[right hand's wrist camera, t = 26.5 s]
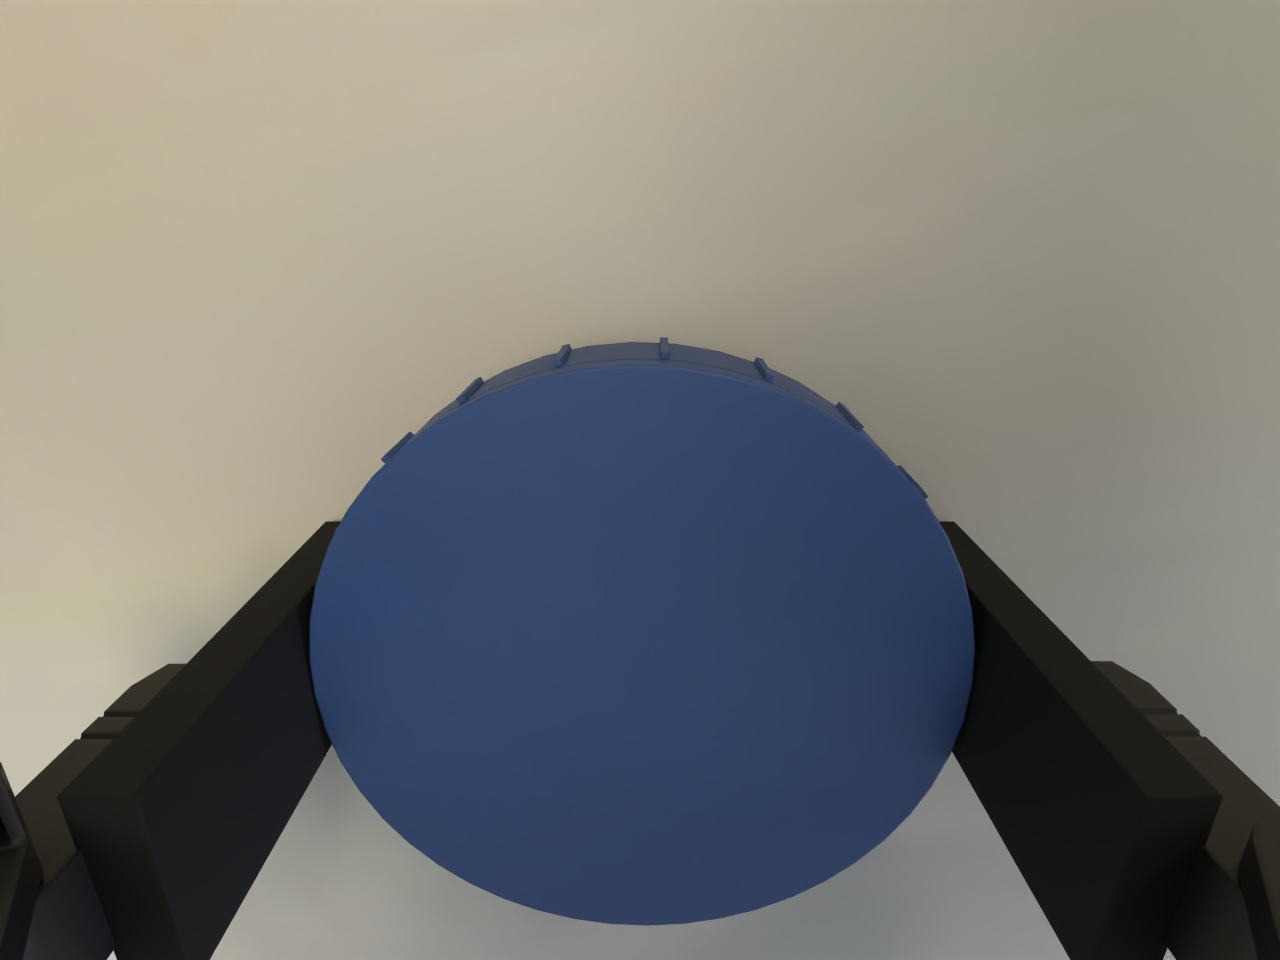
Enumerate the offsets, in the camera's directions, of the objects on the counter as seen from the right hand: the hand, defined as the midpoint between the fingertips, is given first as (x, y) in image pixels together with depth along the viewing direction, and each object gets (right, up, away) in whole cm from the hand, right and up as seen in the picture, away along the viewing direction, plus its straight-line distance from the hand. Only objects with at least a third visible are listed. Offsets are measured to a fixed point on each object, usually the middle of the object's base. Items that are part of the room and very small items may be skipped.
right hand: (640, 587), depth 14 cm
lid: (0, -1, -3) cm, 3 cm away
